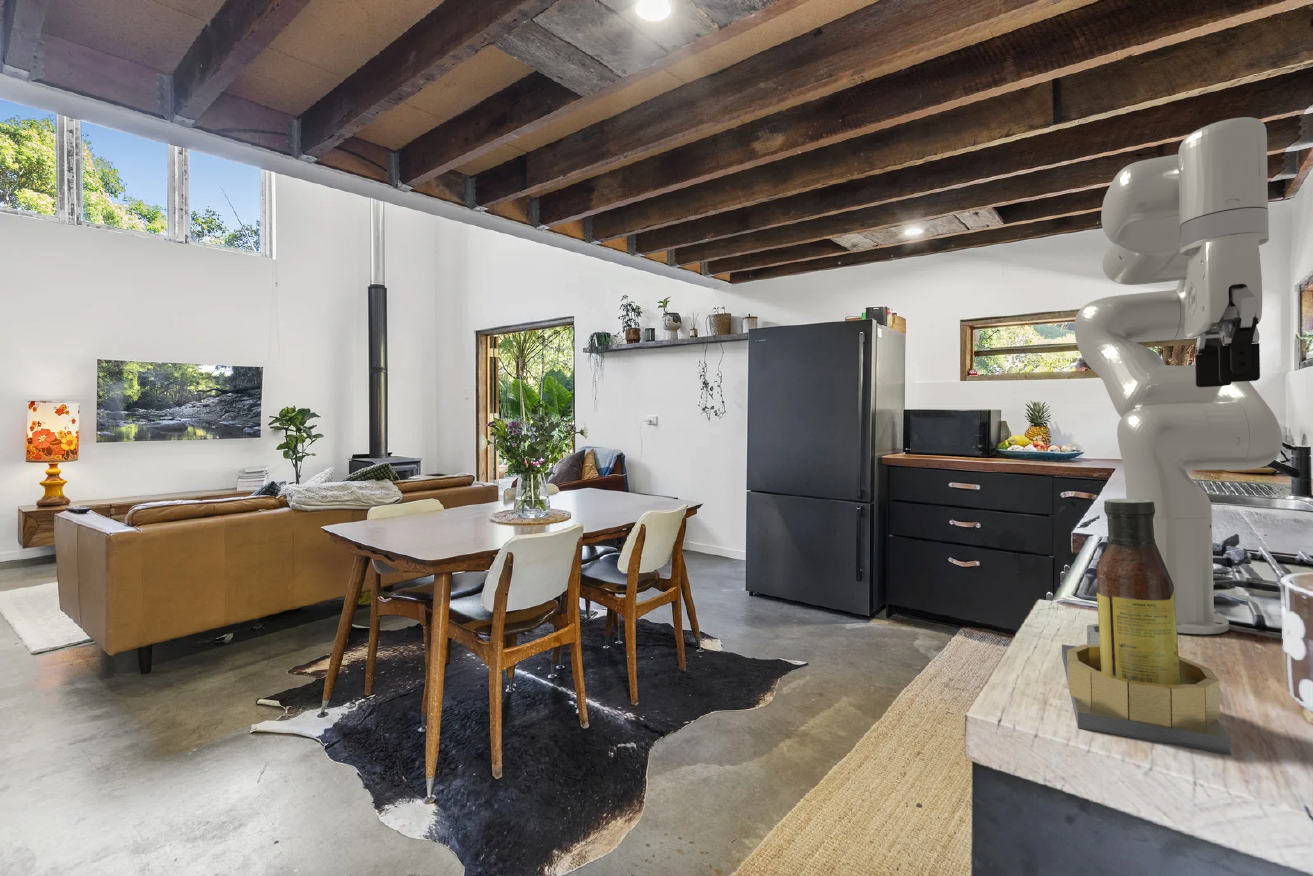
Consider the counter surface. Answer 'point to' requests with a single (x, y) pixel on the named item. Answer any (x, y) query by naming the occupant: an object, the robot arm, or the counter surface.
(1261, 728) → the counter surface
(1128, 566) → the sauce bottle
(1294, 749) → the counter surface
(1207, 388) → the robot arm
